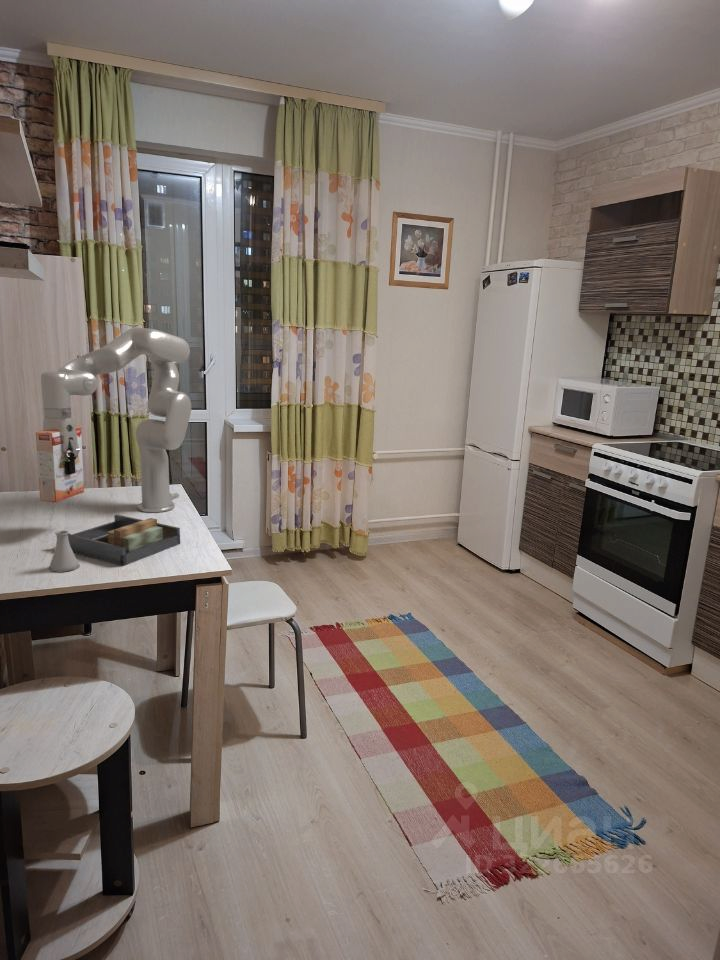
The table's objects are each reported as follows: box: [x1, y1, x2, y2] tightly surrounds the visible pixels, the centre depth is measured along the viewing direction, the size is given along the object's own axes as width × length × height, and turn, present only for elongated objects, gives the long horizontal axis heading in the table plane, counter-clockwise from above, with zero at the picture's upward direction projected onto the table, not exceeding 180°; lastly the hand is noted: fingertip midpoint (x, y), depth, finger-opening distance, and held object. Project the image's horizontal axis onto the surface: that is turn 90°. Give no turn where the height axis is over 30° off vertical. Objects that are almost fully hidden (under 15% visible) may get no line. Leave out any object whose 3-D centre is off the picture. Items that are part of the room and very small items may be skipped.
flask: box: [48, 529, 81, 573], centre depth 173 cm, size 7×7×10 cm
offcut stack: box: [106, 517, 163, 552], centre depth 188 cm, size 14×8×8 cm, turn 153°
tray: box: [68, 514, 181, 566], centre depth 191 cm, size 22×26×5 cm
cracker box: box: [35, 426, 85, 503], centre depth 197 cm, size 14×6×21 cm, turn 168°
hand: (61, 471), depth 198 cm, fingers closed on cracker box, 7 cm apart
